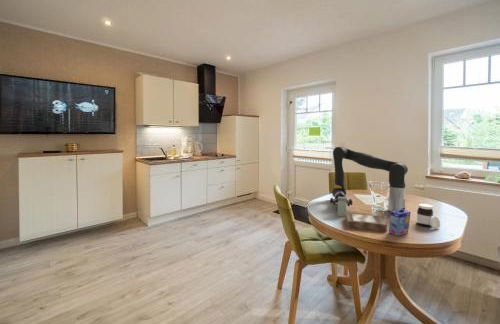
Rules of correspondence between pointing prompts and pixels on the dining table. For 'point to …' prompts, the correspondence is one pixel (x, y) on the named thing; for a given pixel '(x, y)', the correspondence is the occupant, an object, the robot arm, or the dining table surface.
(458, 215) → the dining table surface
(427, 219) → the spread jar
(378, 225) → the dock
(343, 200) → the block
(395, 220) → the ink cartridge box
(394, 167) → the robot arm
